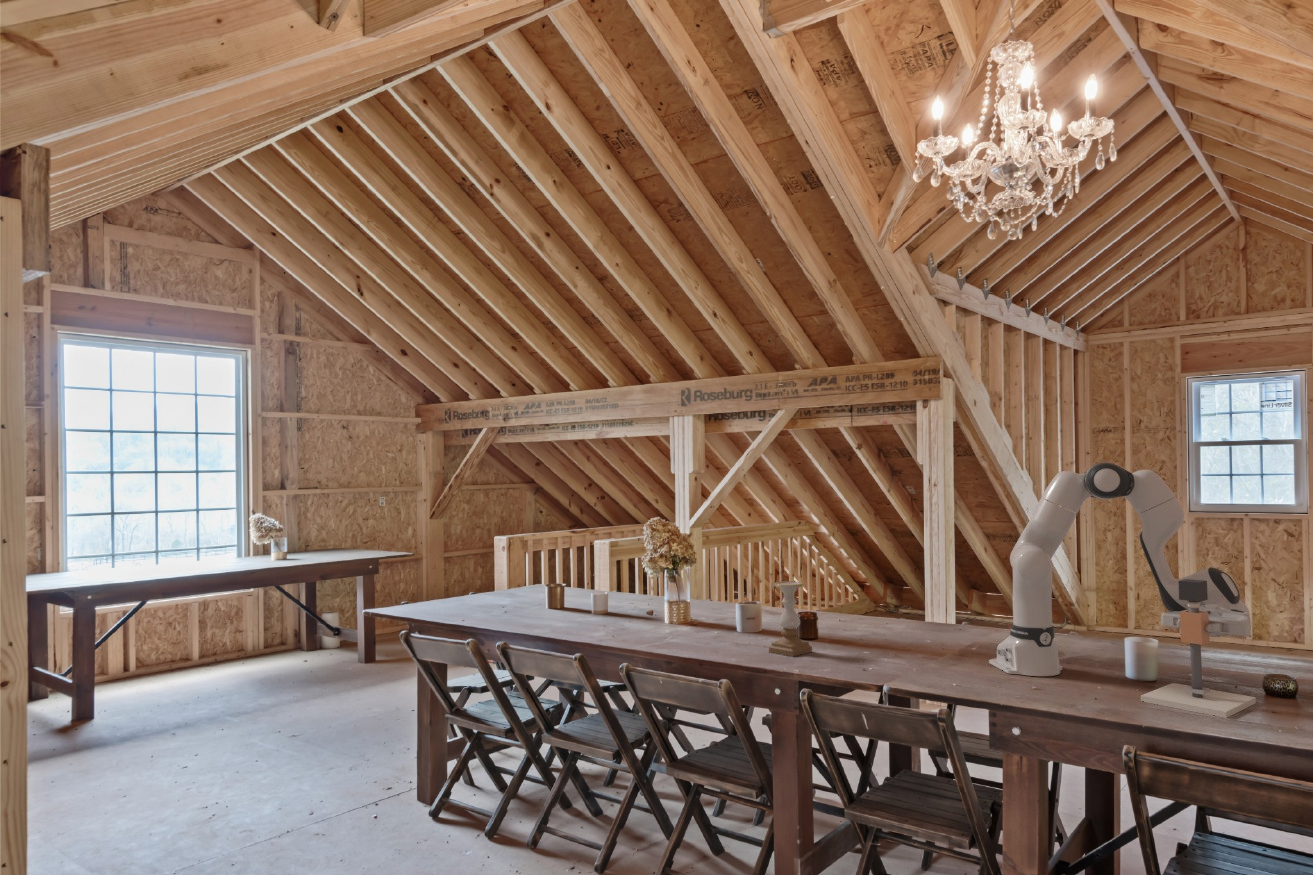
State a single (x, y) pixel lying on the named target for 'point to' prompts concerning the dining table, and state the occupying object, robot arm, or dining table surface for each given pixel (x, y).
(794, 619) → the candle holder
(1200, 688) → the post
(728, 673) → the dining table surface
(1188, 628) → the sleeve
